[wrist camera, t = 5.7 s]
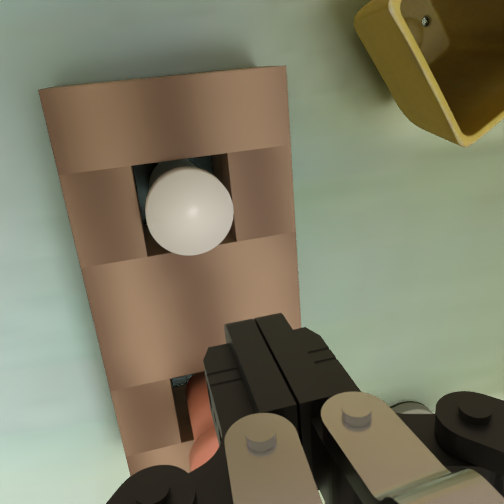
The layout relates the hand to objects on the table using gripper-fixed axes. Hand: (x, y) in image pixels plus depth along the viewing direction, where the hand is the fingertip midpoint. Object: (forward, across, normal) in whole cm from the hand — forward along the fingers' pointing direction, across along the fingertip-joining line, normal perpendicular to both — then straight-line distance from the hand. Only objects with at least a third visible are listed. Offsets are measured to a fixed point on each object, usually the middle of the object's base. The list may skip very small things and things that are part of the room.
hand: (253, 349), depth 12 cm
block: (+21, 0, +6) cm, 22 cm away
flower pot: (+21, -16, -8) cm, 27 cm away
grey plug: (+20, 0, 0) cm, 20 cm away
